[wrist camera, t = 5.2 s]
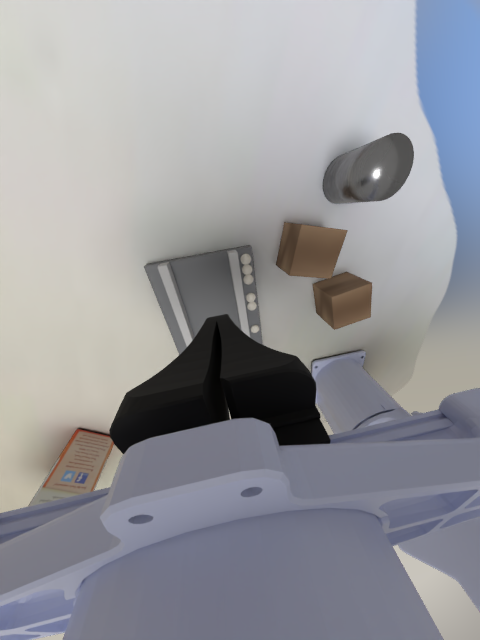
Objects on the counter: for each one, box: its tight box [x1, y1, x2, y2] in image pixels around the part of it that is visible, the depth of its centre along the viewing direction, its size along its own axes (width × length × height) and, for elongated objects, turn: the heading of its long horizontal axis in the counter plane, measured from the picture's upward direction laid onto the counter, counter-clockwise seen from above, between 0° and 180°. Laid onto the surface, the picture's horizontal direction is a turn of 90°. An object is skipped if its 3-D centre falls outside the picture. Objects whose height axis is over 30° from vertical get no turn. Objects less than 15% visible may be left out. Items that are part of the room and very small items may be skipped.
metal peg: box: [323, 133, 414, 204], centre depth 15 cm, size 4×4×5 cm
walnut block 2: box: [313, 272, 372, 330], centre depth 21 cm, size 4×4×4 cm
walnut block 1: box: [276, 222, 347, 279], centre depth 18 cm, size 4×4×4 cm
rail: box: [144, 245, 262, 355], centre depth 21 cm, size 16×10×2 cm, turn 8°
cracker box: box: [28, 429, 114, 507], centre depth 22 cm, size 14×6×21 cm, turn 143°
